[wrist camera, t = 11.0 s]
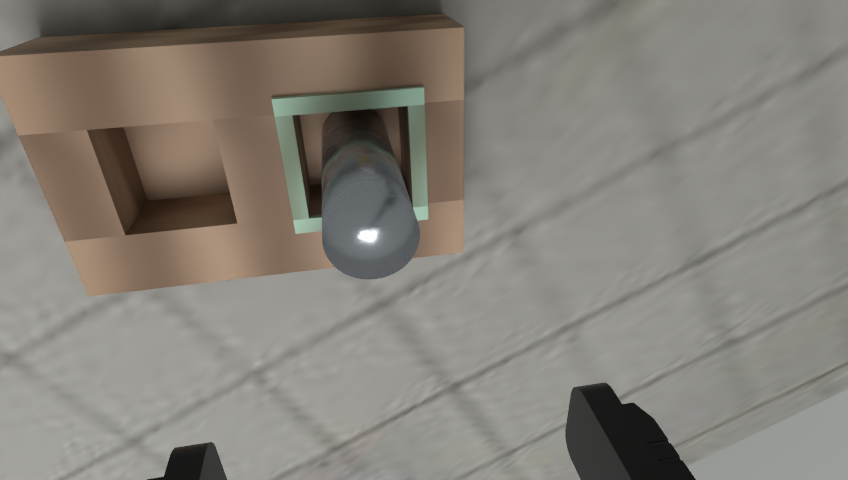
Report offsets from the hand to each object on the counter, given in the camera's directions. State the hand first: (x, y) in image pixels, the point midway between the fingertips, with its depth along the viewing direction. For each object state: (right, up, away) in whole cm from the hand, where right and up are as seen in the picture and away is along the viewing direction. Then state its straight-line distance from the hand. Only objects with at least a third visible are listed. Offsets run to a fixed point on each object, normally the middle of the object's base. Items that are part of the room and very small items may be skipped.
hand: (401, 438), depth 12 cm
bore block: (-8, +10, +18) cm, 22 cm away
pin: (-3, +10, +18) cm, 21 cm away
